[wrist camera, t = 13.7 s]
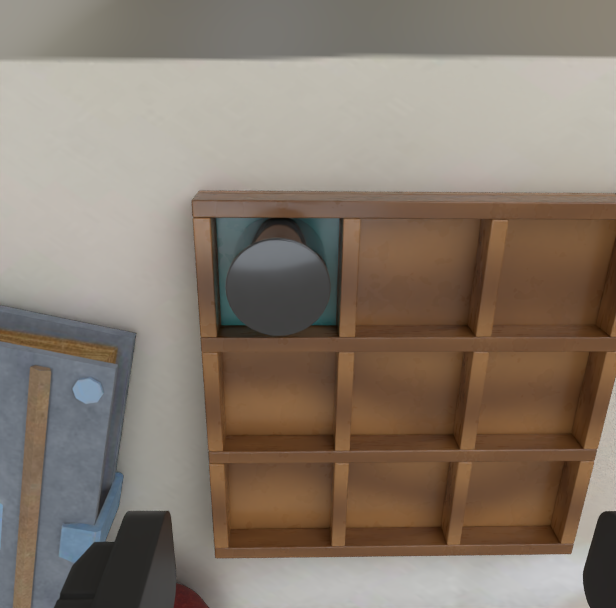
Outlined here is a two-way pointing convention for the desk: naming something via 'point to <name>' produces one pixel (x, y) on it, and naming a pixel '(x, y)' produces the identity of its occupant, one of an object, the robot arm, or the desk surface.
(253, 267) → the dark grey cylinder
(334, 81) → the desk surface
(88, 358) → the book
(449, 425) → the board
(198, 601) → the apple
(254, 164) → the desk surface
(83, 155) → the desk surface
